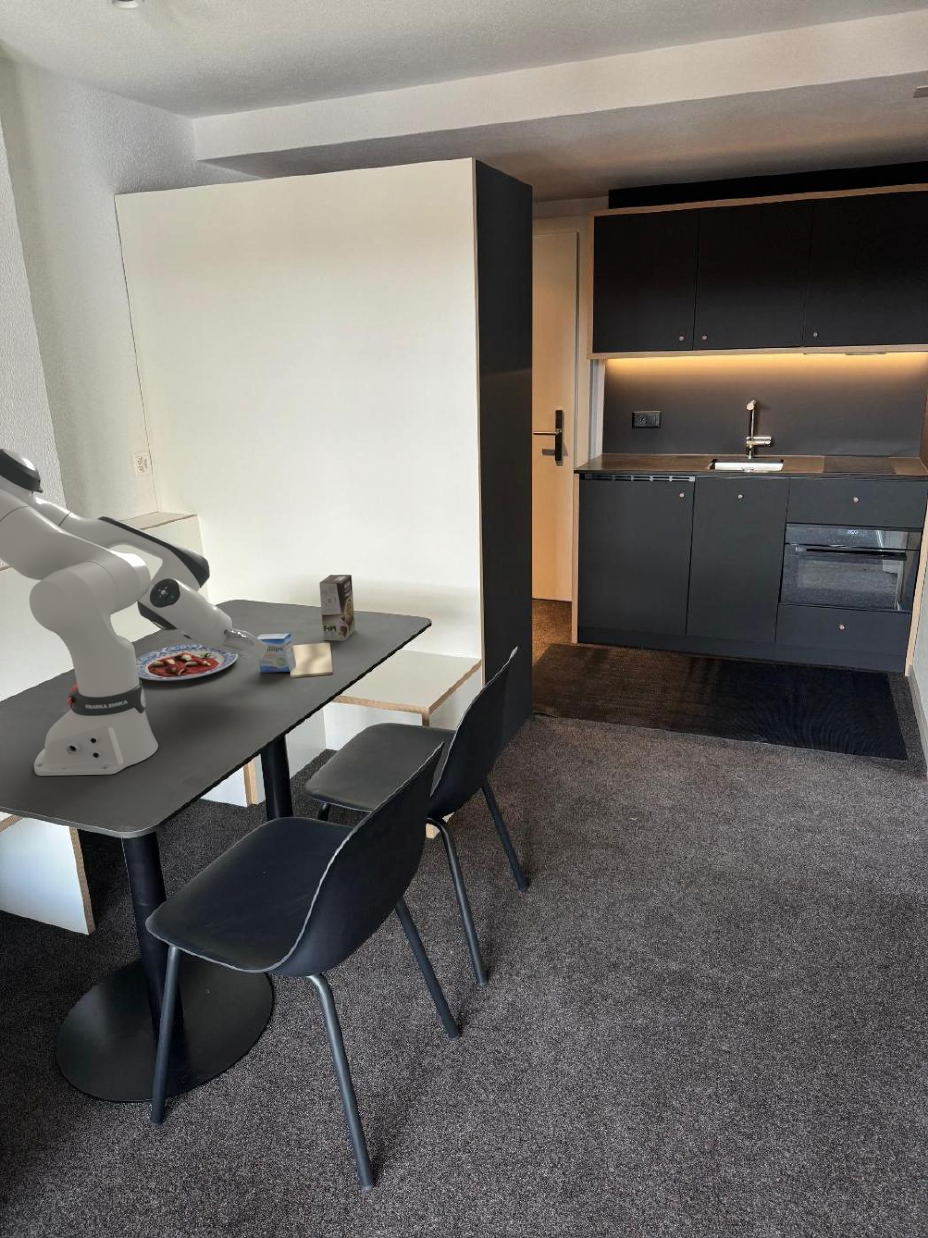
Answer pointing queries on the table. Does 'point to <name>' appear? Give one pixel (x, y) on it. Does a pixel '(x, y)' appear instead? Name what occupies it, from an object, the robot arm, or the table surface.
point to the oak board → (312, 660)
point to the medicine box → (277, 653)
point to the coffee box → (337, 607)
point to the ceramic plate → (183, 662)
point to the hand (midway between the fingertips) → (249, 655)
